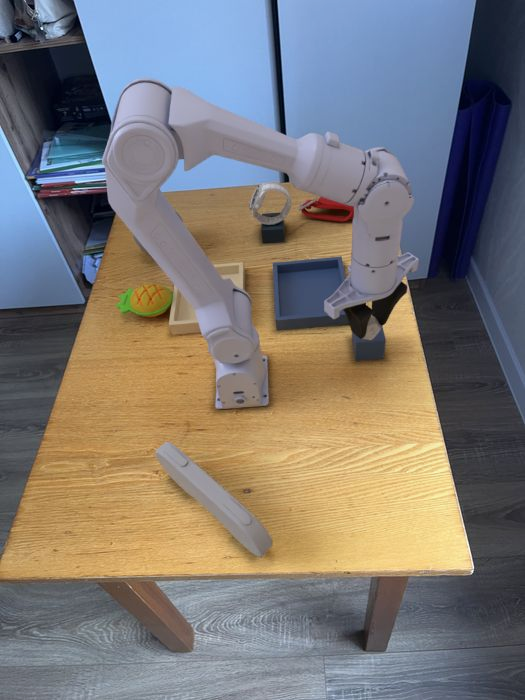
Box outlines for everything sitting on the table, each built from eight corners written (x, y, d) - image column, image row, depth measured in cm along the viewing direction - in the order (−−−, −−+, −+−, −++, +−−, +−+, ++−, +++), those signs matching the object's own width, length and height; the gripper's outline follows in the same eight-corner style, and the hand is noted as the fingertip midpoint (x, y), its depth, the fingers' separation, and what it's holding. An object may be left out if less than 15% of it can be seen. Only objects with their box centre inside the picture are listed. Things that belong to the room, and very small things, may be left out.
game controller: (277, 552, 62) (271, 526, 56) (265, 566, 61) (257, 542, 55) (175, 459, 72) (160, 428, 66) (163, 471, 71) (146, 440, 65)
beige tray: (244, 328, 87) (242, 318, 85) (172, 334, 88) (168, 324, 86) (245, 271, 97) (243, 261, 95) (179, 278, 97) (176, 267, 95)
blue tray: (351, 324, 85) (352, 313, 83) (276, 330, 86) (275, 320, 84) (341, 266, 95) (341, 256, 93) (273, 272, 96) (272, 262, 94)
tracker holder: (337, 186, 110) (371, 194, 102) (337, 207, 112) (371, 215, 105) (293, 198, 104) (327, 206, 96) (294, 219, 106) (327, 229, 99)
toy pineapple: (172, 324, 89) (164, 302, 85) (117, 325, 91) (107, 304, 87) (179, 296, 94) (172, 274, 90) (127, 298, 95) (117, 277, 91)
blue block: (383, 358, 80) (385, 340, 76) (355, 361, 80) (356, 342, 77) (379, 337, 83) (381, 319, 79) (351, 340, 83) (352, 321, 80)
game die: (385, 334, 74) (387, 320, 72) (366, 348, 73) (367, 334, 70) (368, 321, 76) (369, 307, 74) (349, 334, 75) (350, 320, 72)
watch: (254, 227, 105) (247, 179, 97) (293, 224, 104) (289, 175, 96) (252, 244, 102) (245, 196, 93) (293, 241, 101) (289, 192, 93)
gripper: (395, 214, 67) (387, 289, 78) (308, 262, 63) (311, 335, 73) (436, 239, 63) (421, 315, 74) (345, 292, 59) (343, 365, 69)
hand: (368, 327), depth 73 cm, fingers closed on game die, 3 cm apart
